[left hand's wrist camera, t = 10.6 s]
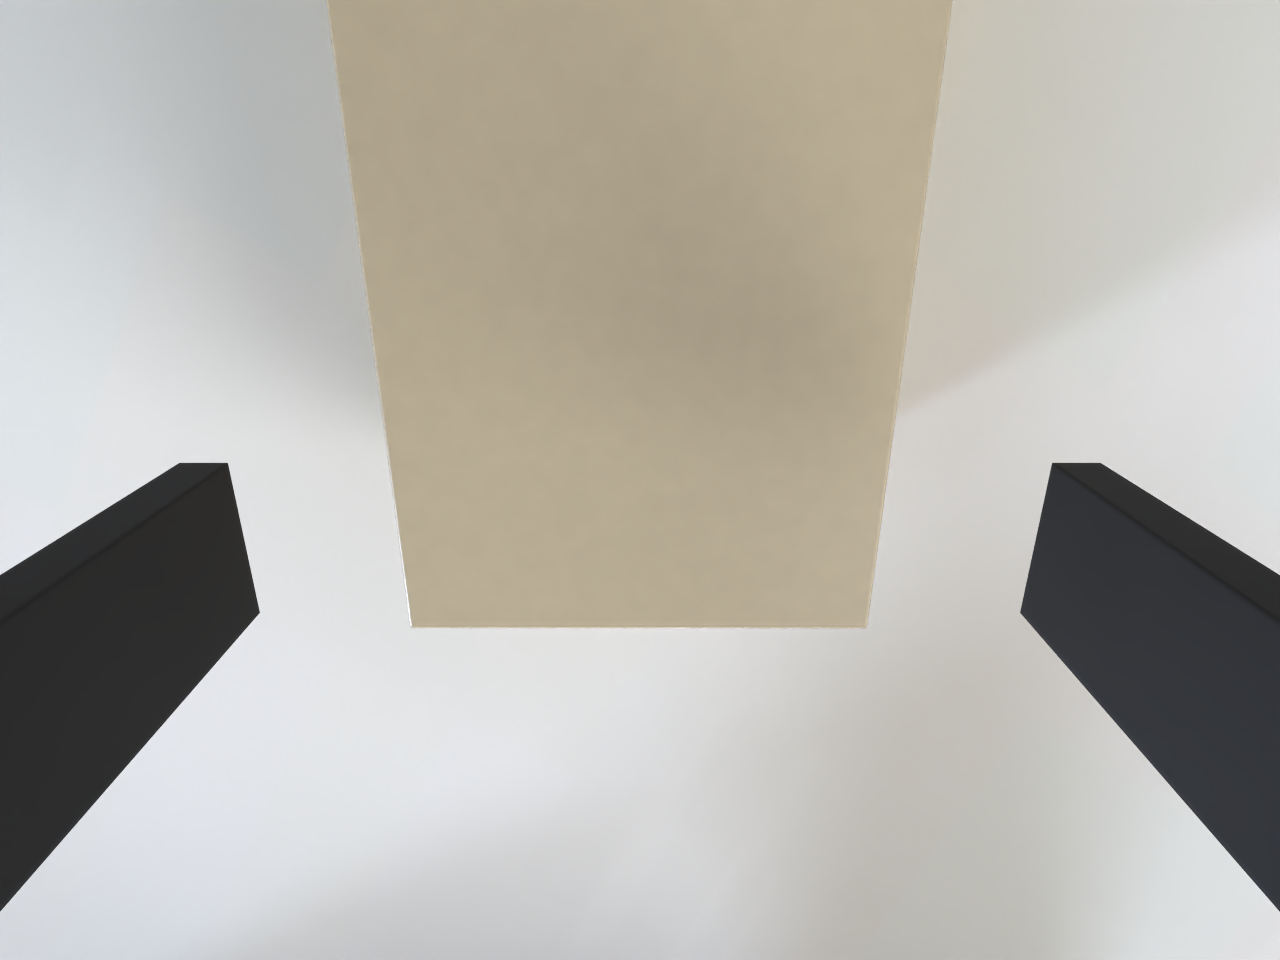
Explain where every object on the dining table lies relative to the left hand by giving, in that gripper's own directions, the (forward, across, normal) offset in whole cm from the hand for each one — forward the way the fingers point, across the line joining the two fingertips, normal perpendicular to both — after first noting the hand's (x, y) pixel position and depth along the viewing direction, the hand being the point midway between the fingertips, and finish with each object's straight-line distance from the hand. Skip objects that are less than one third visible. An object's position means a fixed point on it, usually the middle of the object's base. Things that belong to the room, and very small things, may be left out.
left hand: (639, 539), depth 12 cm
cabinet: (+13, 0, -5) cm, 14 cm away
